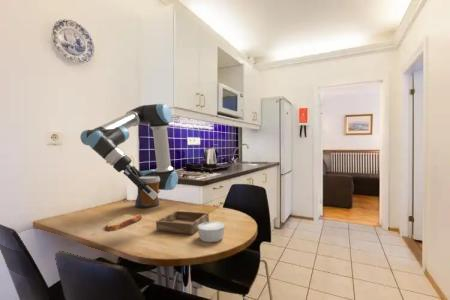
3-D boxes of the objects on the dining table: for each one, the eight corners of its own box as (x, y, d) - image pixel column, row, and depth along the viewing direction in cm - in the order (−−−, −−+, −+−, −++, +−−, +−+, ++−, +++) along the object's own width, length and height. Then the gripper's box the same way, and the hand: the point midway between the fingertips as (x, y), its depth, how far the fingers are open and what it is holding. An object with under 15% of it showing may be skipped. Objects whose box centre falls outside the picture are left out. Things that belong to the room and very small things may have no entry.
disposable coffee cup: (133, 205, 104) (133, 178, 104) (146, 200, 113) (146, 175, 113) (153, 207, 102) (152, 179, 101) (164, 202, 111) (164, 176, 111)
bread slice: (106, 233, 108) (106, 224, 108) (103, 222, 124) (103, 215, 124) (147, 225, 117) (147, 218, 117) (139, 216, 133) (139, 210, 133)
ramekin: (210, 231, 106) (210, 219, 106) (230, 236, 99) (230, 224, 99) (192, 239, 98) (191, 226, 98) (212, 246, 91) (212, 232, 90)
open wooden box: (176, 219, 125) (176, 210, 125) (208, 222, 119) (208, 213, 119) (156, 231, 108) (156, 221, 108) (192, 234, 102) (192, 224, 102)
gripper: (119, 164, 115) (154, 196, 118) (104, 168, 94) (147, 207, 97) (130, 153, 116) (165, 185, 119) (118, 155, 95) (160, 193, 98)
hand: (157, 195), depth 108 cm, fingers closed on disposable coffee cup, 9 cm apart
